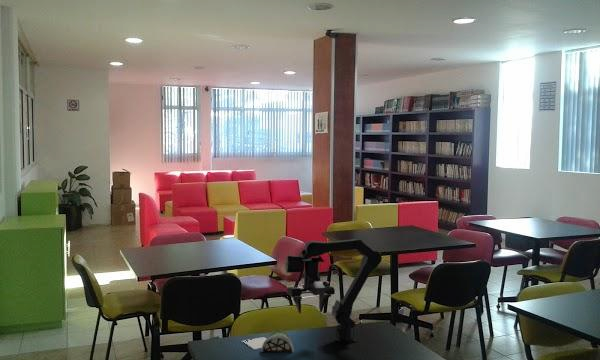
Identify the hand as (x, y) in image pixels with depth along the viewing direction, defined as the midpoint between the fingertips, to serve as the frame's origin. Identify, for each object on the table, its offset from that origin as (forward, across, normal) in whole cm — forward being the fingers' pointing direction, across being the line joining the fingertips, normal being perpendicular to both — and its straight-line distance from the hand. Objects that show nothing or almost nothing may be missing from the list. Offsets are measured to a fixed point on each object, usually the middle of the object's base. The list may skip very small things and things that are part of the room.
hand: (310, 312), depth 212 cm
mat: (+13, -18, +9) cm, 24 cm away
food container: (+9, -11, +4) cm, 15 cm away
